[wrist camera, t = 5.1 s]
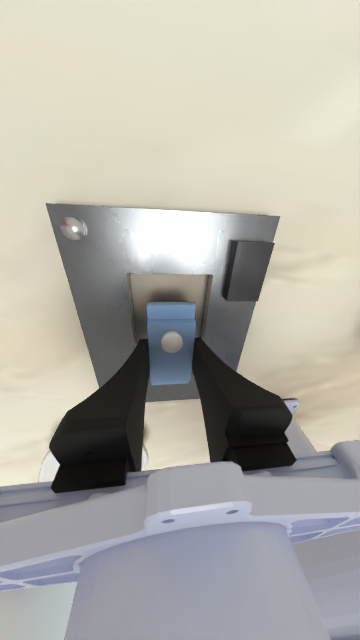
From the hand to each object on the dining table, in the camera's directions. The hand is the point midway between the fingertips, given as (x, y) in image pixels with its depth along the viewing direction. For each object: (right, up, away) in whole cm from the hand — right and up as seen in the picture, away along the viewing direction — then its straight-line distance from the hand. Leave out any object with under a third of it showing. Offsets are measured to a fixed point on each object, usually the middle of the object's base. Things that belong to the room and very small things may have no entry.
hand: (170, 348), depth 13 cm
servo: (0, +1, +2) cm, 3 cm away
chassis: (0, +2, +3) cm, 3 cm away
